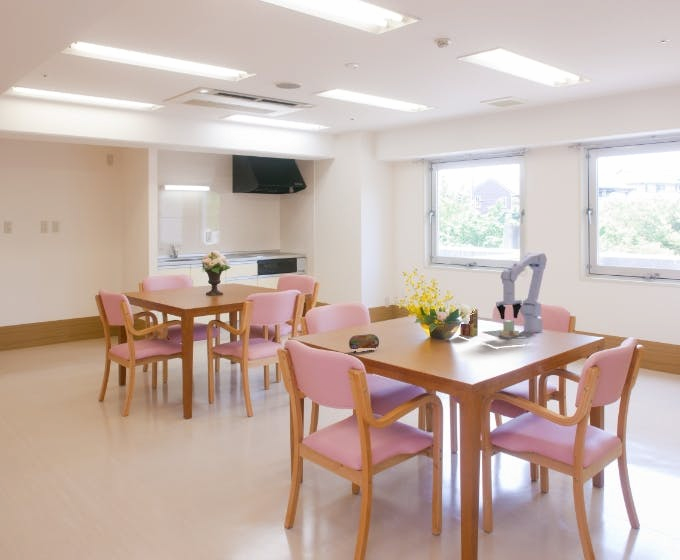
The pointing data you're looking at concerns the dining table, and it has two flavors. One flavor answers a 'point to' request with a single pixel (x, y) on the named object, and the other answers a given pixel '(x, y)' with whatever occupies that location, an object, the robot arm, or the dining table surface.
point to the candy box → (470, 325)
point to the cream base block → (509, 333)
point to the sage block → (508, 325)
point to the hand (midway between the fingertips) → (509, 318)
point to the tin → (364, 341)
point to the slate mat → (497, 334)
